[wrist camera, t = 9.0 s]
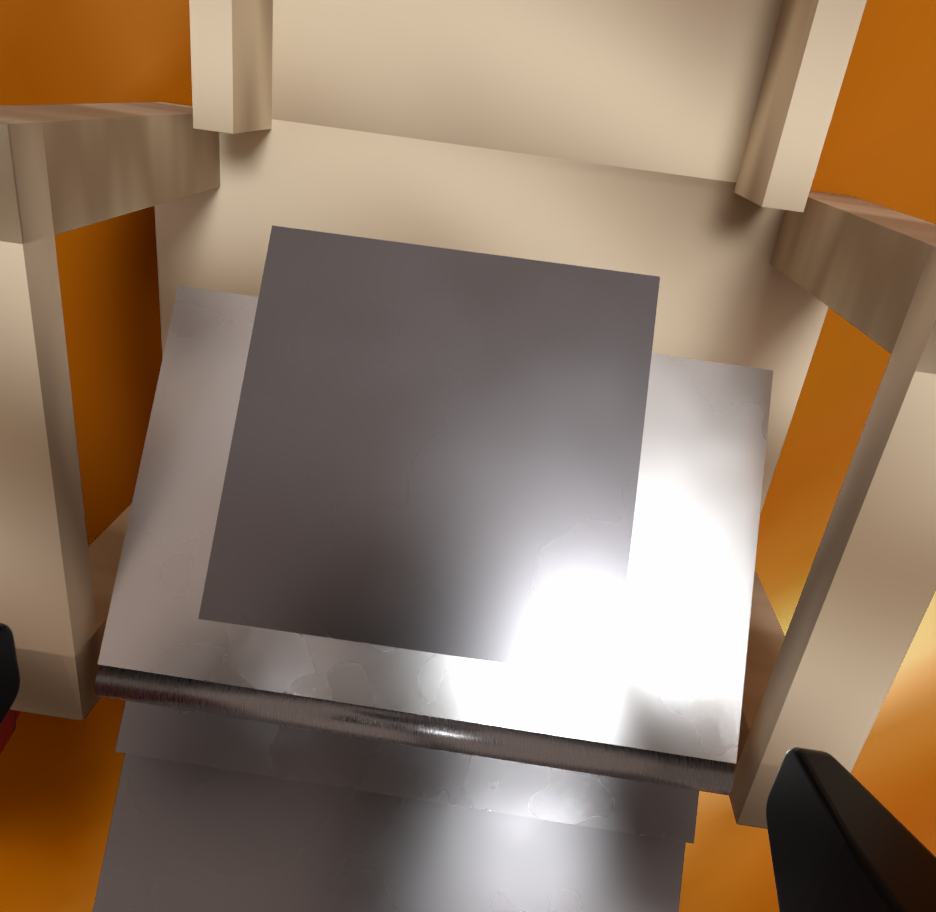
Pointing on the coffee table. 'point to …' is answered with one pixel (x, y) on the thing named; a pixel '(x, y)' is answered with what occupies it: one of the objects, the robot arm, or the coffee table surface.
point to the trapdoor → (422, 692)
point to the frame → (514, 235)
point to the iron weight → (436, 452)
